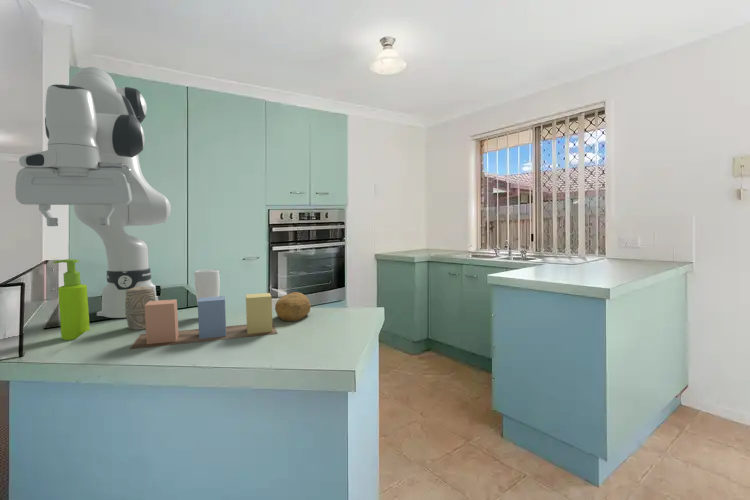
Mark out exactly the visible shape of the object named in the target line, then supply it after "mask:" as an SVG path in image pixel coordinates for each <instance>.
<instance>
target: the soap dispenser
mask: <svg viewBox="0 0 750 500" xmlns="http://www.w3.org/2000/svg"><path fill="white" fill-rule="evenodd" d="M52 262H53V264H59V263H65V264H66V270H67V271H65V272H64V273H63V285H62V286H59V287H58V288H57V292H58V294H57V295H58V307H59V309H58V310H59V319H60V320H59V322H60V323H59V324H60V334H61V335H60V336H61V340H63V339H64V341H71V340H73V339H75V340H76V339H78V338H79V337H80V336H82V335H83V334H85V333H86V332H88V331H90V329H91V328H90V314H89V312H90V310H89V301H88V300H89V299H88V285H87V284H82V282H81V272H80V271H78V270H76V264H77V263H80V260H79V259H71V258H67V259H59V260H54V261H52Z"/></svg>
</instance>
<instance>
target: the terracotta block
mask: <svg viewBox="0 0 750 500" xmlns="http://www.w3.org/2000/svg"><path fill="white" fill-rule="evenodd" d="M145 321H146V329H145V334H146V339H147V344H154V343H164V342H174V341H176V340H177V338H178V336H179V335H178V331H179V317H178V300H177V299H175V298H174V299H161V300H160V301H149V302H148V303H147V304H146V305H145Z"/></svg>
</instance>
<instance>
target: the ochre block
mask: <svg viewBox="0 0 750 500" xmlns="http://www.w3.org/2000/svg"><path fill="white" fill-rule="evenodd" d="M272 299H273V298H272V295H271V293H270V292H265V293H249V294H248V293H247V294H245V313H246V325H247V333H248V334H253V333H263V332H273V330H272V322H273V305H272V304H273V303H272V302H273V300H272Z"/></svg>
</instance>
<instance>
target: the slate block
mask: <svg viewBox="0 0 750 500" xmlns="http://www.w3.org/2000/svg"><path fill="white" fill-rule="evenodd" d="M197 314H198V315H197V318H198V319H197V321H198V329H199V339H204V338H214V337H224V336H226V326H227V314H226V296H225V295H223V296H222V295H221V296H220V295H219V296H218V297H203V298H199V299H198V304H197Z"/></svg>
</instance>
